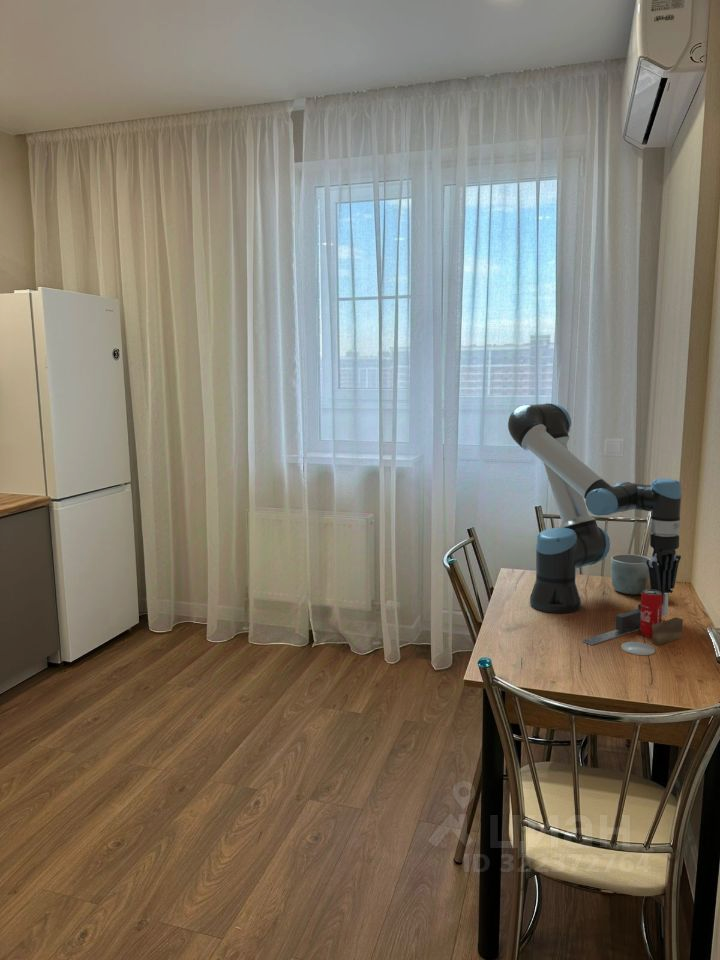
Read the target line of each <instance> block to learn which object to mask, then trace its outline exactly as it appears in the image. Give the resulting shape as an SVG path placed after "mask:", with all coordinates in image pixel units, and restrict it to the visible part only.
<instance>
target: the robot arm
mask: <svg viewBox="0 0 720 960" xmlns="http://www.w3.org/2000/svg"><path fill="white" fill-rule="evenodd" d="M571 427H572V419H571V416H570V414H569V412H568V411H567V409H566V408H565V407H564V406H561V405H560V404H556V403H549V402H546V403H541V404H524V405H520V406H518V407H517V408H515V409H514V410H513V411H512V412H511V414H510V415H509V417H508V422H507V428H508V431H509V435H510V436H511V439H513V440H514V442H515V443H516V444H517V445H518V446H519V447H520V448H522V449H523V450H524V451H530V452H531V453H532V454H534V456H536V457H537V458H538V459H539V460H540V461H542V463H543V465H544V468H545V473H546V476H547V478H548V481H549V484H550V487H551V488H550V489H551V491H552V495H553V497H554V501H555V504H556V508H557V510H558V514H559V517H560V520H561V524H560V525H559V527H556V528H553V527H552V528H551V527H550V528H546V529H544V530H542V531H540V532H539V533H538V534H537V537H536V544H535V549H536V553H535V554H536V555H535V556H536V559H535V561H536V565H535V570H536V572H535V581H534V585H533V587H532V591H531V594H530V596H529V605H530V604H531V605H530V607H532V606H533V607H532V608H534V609H535V610H539V611H543V612H548V613H552V614H554V613H556V614H567V613H569V614H570V613H573V612H576V611H579V610H580V609H581V607H582V599H581V597H580V594H579V590H578V587H577V583H576V575H577V574H576V572H577V571H576V569H579V568H582V567H587V566H592V565H594V564H595V565H596V564H597V563H599V562H602V561H603V560H604V559H605V558H606V557H607V556H608V553H609V552H610V548H611V541H610V537H609V535H608V533H607V531H606V530H604V528H602V527H601V526H598V523H597V520H596V518H595V517H593V516H591V515H590V514H589V512H590V513H591V514H592V515H594V516H599V517H600V516H611V515H613V514H616V513H620V512H621V513H622V512H627V511H633V510H639V511H644V512H650V524H649V525H650V530H649V531H650V533H651V534H649V536H650V537H649V546H650V548H652V549H653V551H652V554H651V556H652V558H650V559H651V560H647V561H646V563H647V566H648V569H649V577H650V585H651V589H653V590H658V591H660V592H661V593H662V616H664V617H665V616H668V615H669V613H668V612H669V598H670V596H669V595H670V594H673V592H674V589H675V585H676V580H677V575H678V569H679V563H680V562H681V559H682V556H681V555H679V554H677V553H676V552H677V551H676V550H678V549H679V548H680V535H679V534H680V527H681V525H680V523H681V522H680V521H681V502H682V485H681V481H679V480H678V479H672V478H655V479H653V480H652V483H651V484H643V483H642V484H641V483H633V482H629V481H626V482H621V481H620V482H616V483H615V484H614V485H613V486H612V485H610V483H608V482H607V481H606V480H604V479H603V478H602V477H601V476H599V475H598V473H596V472H595V471H593V470H592V469H591V468H590V467H589V466H588V465H587V464H586V463H584V462H583V461H582V460H581V459H580V458H578V457H577V456H576V455H575V454H573V453H572V452H571V451H570V450H569V449H568V442H569V440H570V436H569V433H570V431H571ZM584 499H585V500H584Z"/></svg>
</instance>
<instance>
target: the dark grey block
mask: <svg viewBox="0 0 720 960" xmlns="http://www.w3.org/2000/svg"><path fill="white" fill-rule="evenodd" d="M637 607H638V608H637V609H636V608H635V609H634V610H630V611H627V612H622V613H620V614H617V615H615V630H618V631H621V632H623V631H626V630H629V629H632V628H635V627H638V626H640V619H641V603H638V605H637Z"/></svg>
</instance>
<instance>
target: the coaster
mask: <svg viewBox="0 0 720 960" xmlns="http://www.w3.org/2000/svg"><path fill="white" fill-rule="evenodd" d="M621 649H622V651H624V652H626V653H629V654H632V655H636V656H651V655H654V654H655V653H656V648H655V647H654V646H653V645H651V644H648V643H645V642H642V641H641V642H639V641H627V642H624V643H622V644H621Z"/></svg>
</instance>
